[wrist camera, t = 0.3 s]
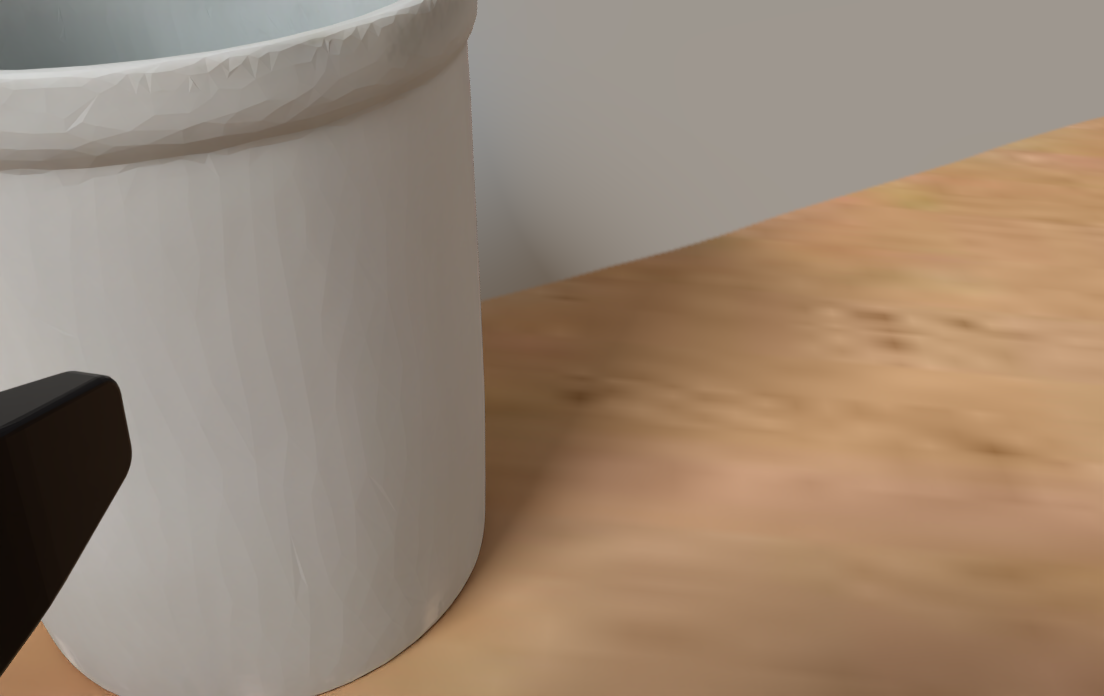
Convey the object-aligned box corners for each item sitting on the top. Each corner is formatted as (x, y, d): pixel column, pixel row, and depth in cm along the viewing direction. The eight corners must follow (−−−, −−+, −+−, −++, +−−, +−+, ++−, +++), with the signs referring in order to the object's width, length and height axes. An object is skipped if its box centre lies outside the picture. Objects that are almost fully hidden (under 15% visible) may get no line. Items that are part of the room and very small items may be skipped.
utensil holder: (588, 624, 28) (589, -10, 18) (21, 839, 23) (-391, 121, 13) (425, 363, 39) (372, -114, 30) (22, 469, 34) (-201, -64, 25)
